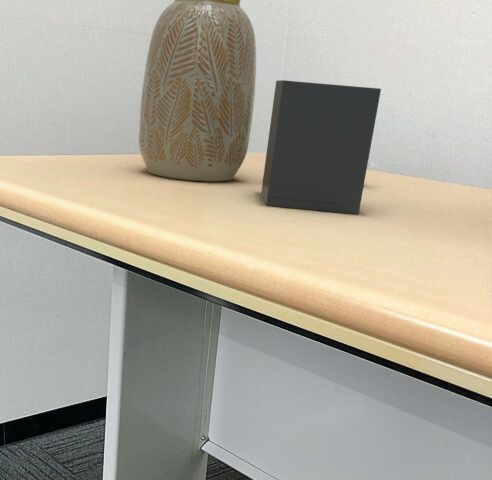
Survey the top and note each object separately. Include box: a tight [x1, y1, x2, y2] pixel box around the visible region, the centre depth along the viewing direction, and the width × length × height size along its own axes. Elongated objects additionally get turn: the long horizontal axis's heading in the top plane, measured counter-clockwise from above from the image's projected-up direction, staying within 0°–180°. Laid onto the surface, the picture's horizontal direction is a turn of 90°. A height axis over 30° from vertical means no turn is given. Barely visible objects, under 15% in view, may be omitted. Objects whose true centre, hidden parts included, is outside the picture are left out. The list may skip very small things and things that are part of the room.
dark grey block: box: [260, 79, 382, 215], centre depth 98 cm, size 12×12×15 cm
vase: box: [138, 0, 257, 183], centre depth 114 cm, size 17×17×27 cm
